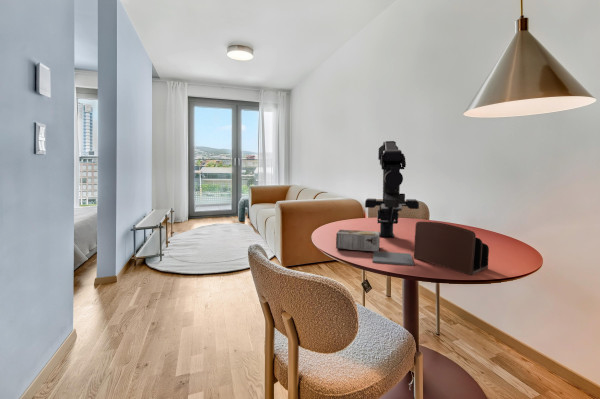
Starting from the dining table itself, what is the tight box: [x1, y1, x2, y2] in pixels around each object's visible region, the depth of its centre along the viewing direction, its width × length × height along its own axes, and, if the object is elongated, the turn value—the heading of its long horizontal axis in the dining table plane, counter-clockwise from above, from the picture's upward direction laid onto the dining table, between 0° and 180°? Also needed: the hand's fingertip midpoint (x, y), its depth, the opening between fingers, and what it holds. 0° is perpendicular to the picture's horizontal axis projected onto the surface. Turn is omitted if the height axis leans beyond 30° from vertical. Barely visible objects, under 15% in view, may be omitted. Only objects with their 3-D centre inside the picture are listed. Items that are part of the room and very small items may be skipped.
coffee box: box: [335, 229, 381, 252], centre depth 111 cm, size 9×6×16 cm
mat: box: [372, 251, 415, 267], centre depth 99 cm, size 11×13×1 cm
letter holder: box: [413, 221, 490, 276], centre depth 93 cm, size 10×20×14 cm, turn 32°
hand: (390, 226), depth 106 cm, fingers closed
